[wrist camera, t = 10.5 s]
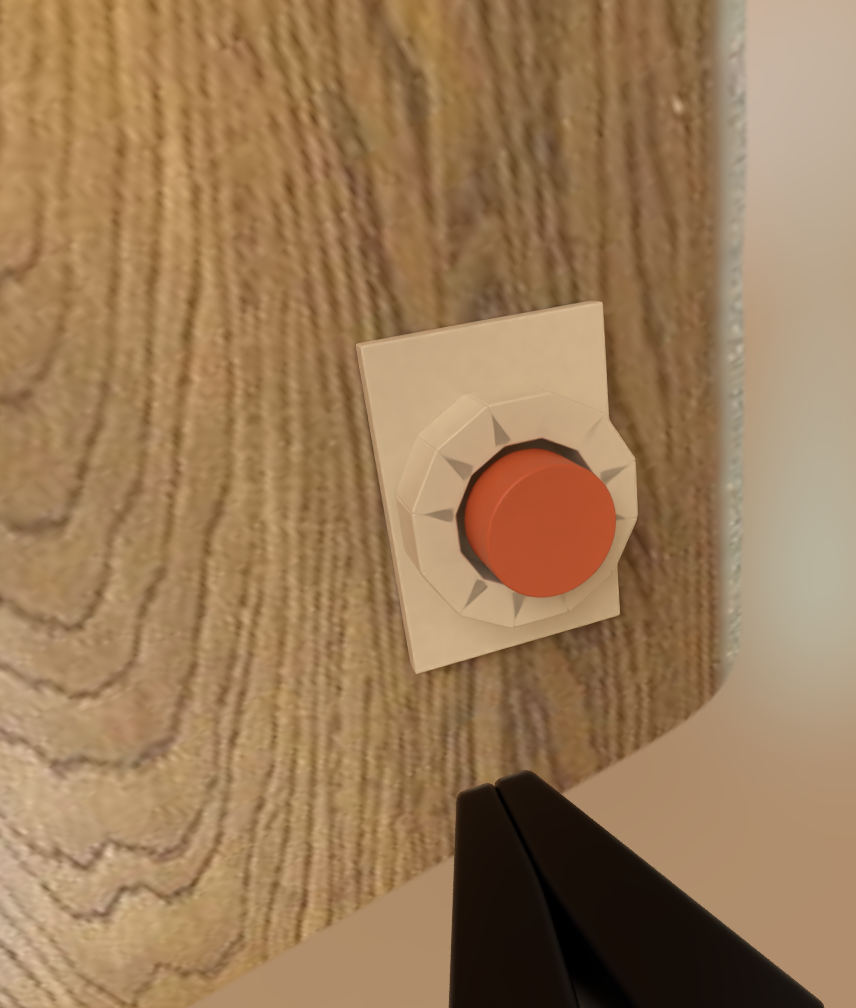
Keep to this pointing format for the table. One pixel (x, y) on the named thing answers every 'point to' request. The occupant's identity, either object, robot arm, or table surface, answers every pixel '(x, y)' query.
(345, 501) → the table surface
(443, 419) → the beige button base
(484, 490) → the button
